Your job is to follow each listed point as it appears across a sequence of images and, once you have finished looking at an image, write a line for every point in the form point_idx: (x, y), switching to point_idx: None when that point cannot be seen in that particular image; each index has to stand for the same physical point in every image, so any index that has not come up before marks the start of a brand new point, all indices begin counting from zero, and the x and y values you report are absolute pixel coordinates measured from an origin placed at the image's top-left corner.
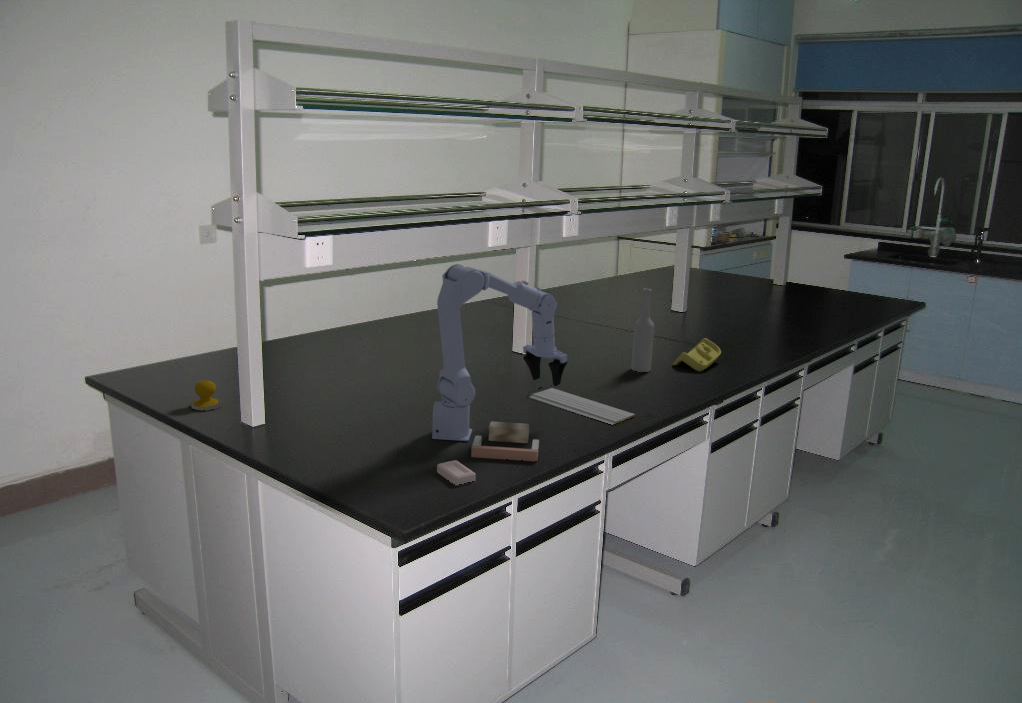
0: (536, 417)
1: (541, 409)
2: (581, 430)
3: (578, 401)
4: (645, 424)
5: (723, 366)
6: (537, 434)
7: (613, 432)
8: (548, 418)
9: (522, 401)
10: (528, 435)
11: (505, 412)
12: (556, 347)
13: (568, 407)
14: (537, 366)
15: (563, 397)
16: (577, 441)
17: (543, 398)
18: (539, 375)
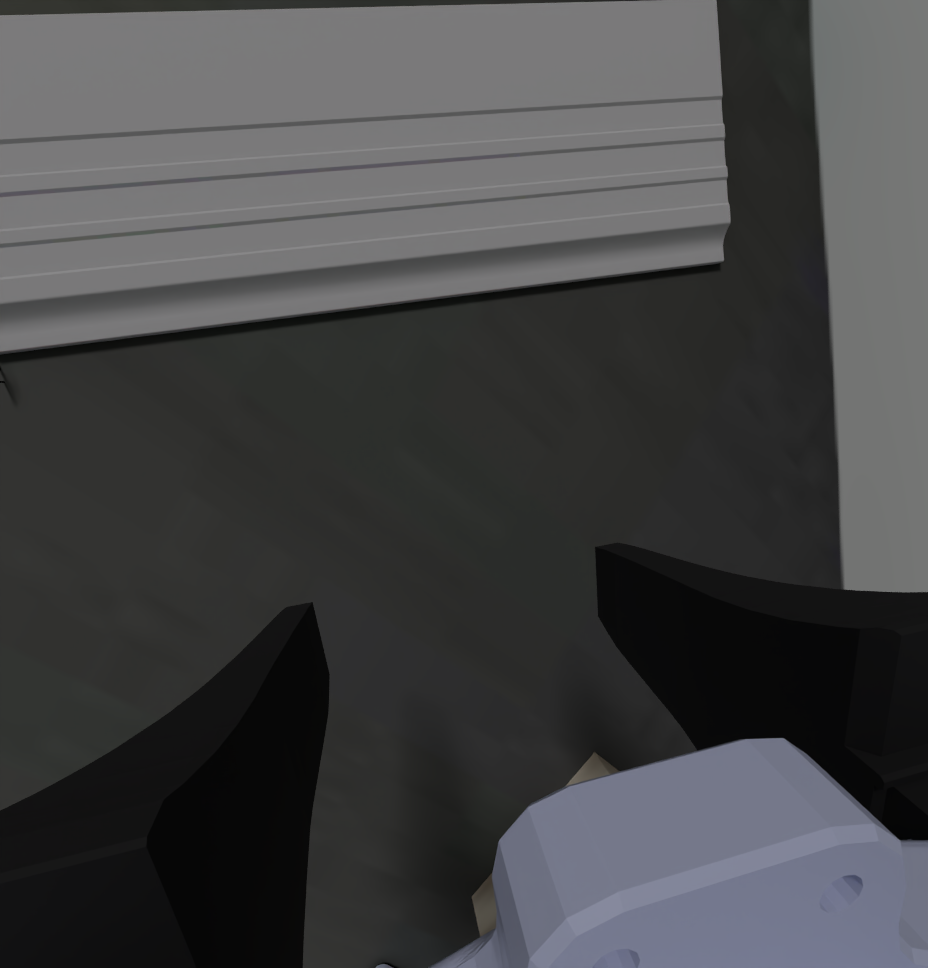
0: (387, 558)
1: (279, 440)
2: (670, 463)
3: (318, 120)
4: (806, 74)
5: None
6: (588, 694)
7: (778, 335)
8: (438, 505)
9: (55, 452)
10: (609, 768)
11: (211, 677)
12: (899, 845)
13: (370, 275)
14: (280, 731)
15: (172, 144)
16: (752, 576)
17: (108, 299)
18: (309, 621)
